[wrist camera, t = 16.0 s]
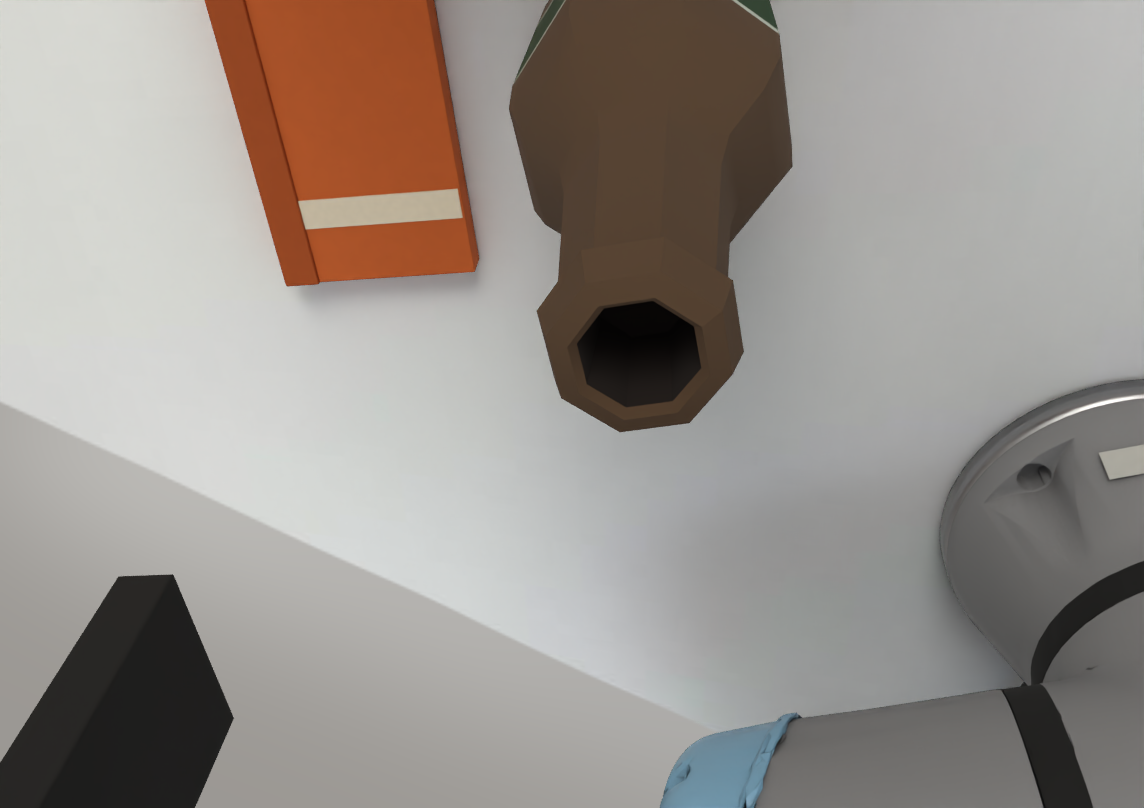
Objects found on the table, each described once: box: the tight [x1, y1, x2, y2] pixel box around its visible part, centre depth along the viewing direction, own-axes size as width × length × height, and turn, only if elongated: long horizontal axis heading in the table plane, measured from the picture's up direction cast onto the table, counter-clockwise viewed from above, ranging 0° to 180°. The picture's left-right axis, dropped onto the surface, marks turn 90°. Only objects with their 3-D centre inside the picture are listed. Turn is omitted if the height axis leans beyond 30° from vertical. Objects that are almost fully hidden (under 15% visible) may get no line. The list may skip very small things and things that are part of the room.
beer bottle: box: [509, 0, 792, 432], centre depth 29 cm, size 8×8×24 cm
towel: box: [205, 0, 479, 286], centre depth 39 cm, size 20×8×1 cm, turn 6°
